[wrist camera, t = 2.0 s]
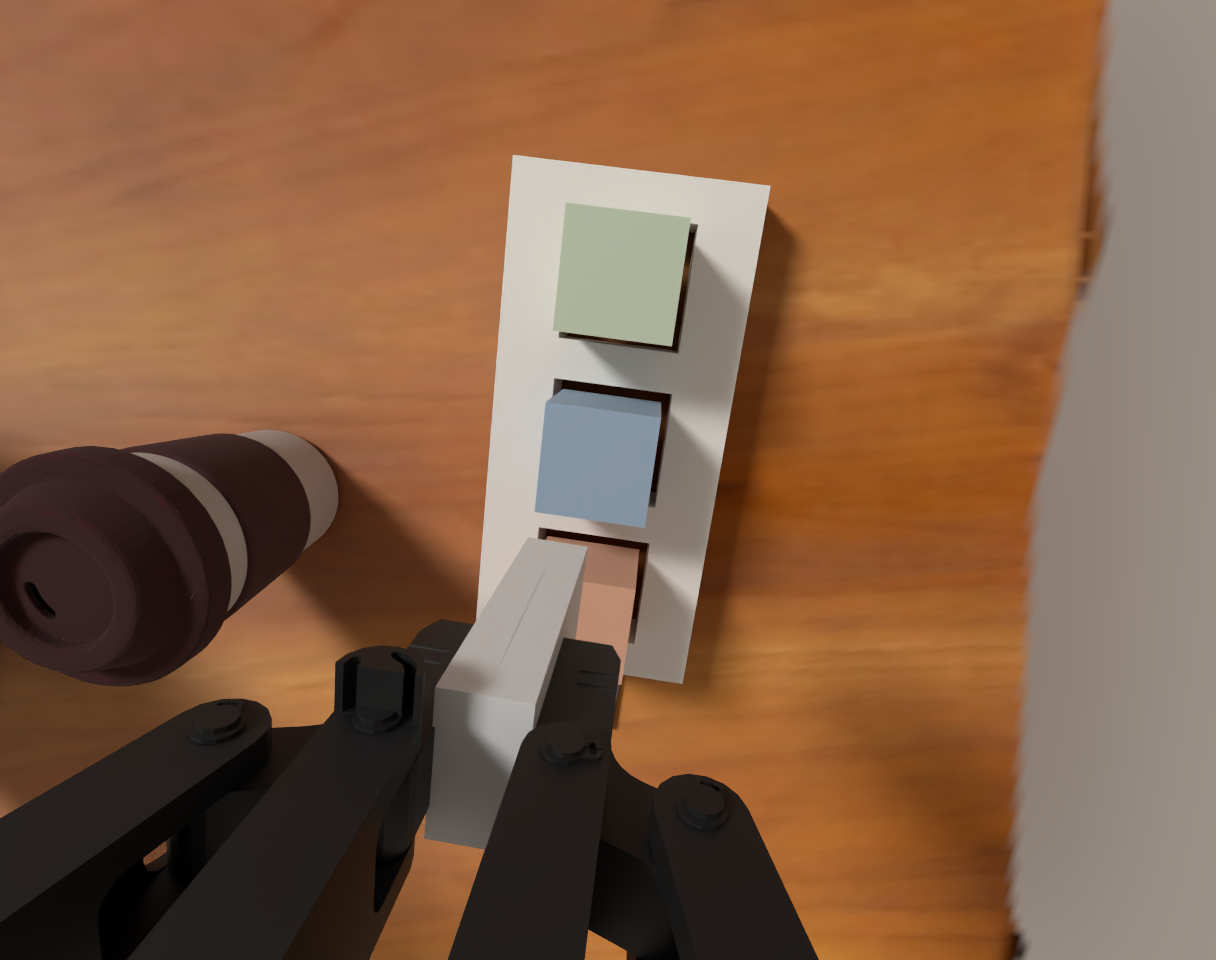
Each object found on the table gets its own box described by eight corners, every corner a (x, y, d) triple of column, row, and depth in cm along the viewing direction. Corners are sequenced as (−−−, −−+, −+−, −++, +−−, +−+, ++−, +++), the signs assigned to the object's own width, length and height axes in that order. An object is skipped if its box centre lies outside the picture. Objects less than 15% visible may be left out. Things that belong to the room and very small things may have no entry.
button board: (487, 626, 39) (473, 651, 36) (526, 169, 32) (512, 154, 29) (680, 656, 38) (682, 683, 36) (760, 197, 32) (770, 185, 29)
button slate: (553, 483, 33) (534, 512, 28) (563, 388, 32) (545, 401, 27) (647, 496, 33) (644, 528, 28) (661, 402, 32) (661, 417, 27)
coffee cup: (363, 415, 36) (166, 479, 22) (364, 574, 39) (188, 727, 24) (198, 397, 37) (-102, 448, 22) (209, 555, 39) (-54, 693, 25)
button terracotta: (538, 619, 36) (518, 669, 30) (547, 536, 34) (528, 573, 29) (627, 632, 35) (621, 685, 30) (639, 549, 34) (635, 589, 29)
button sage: (569, 328, 31) (552, 330, 26) (581, 221, 30) (565, 202, 25) (670, 341, 31) (672, 346, 26) (685, 234, 30) (690, 217, 25)
